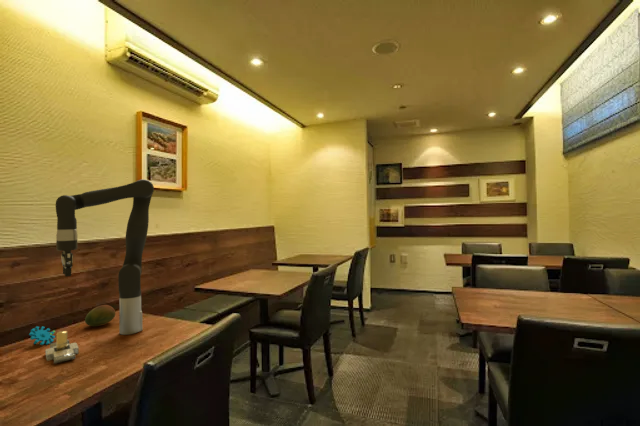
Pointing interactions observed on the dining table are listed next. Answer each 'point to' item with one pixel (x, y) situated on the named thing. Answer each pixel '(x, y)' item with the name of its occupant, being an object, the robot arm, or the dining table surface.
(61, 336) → the pin
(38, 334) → the gear
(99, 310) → the fruit
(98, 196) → the robot arm
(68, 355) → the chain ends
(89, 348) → the dining table surface
